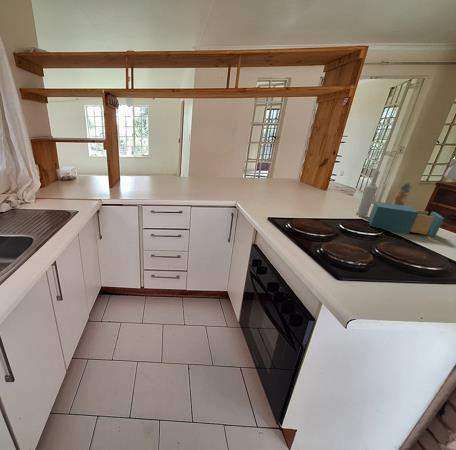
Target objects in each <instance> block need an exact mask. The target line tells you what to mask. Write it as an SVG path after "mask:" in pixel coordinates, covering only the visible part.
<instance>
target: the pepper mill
mask: <svg viewBox="0 0 456 450" xmlns="http://www.w3.org/2000/svg"><path fill="white" fill-rule="evenodd" d="M411 189H412V186H411V183H410V182H405V183H403V184H402V185H400V188H399V189H398V190H397V191H396V194H395V196H394V199H393V201H392V203H391V204H396V205H403V206H406V204H407V202H408V199H409V197H410V195H411V192H410V191H411Z"/></svg>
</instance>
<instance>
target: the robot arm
mask: <svg viewBox="0 0 456 450" xmlns="http://www.w3.org/2000/svg"><path fill="white" fill-rule="evenodd" d="M448 164H449V167H448V168H447V170H446V172H445V173H444V178H445V179H447V180H448V179H449V180H456V157H454V158H451V160H450V162H449V163H448Z"/></svg>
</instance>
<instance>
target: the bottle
mask: <svg viewBox="0 0 456 450" xmlns="http://www.w3.org/2000/svg"><path fill="white" fill-rule="evenodd" d="M380 173H381V171H380V170H375V171H374V173H373V176H372V179H371V181H370V183H369V184H367V185H365V187H364V190H363V192H362V196H361V199H360V203H359V206H358V208H357V210H356V212H355V215H356V216H358V215H359V216H358V217H362V216H367V217H368V215H369V211H370V208H371V206H372V203H373V201H374V199H375V196H376V194H377V191H378V189H379V187H378V186H377V184H376V183H377V181H378V178H379V175H380Z"/></svg>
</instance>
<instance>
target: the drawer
mask: <svg viewBox="0 0 456 450" xmlns="http://www.w3.org/2000/svg"><path fill="white" fill-rule="evenodd" d="M415 210H416V211H417V212H418V215H417V217H416V219H415V221H414V223H413V226H412V228H411V230H410V232H409V233H416V234H421V235H429V236H430V237H432V238H435V237H436V236H437V234H438V232H439V230H440V228H441V226H442V224H443V222H444V219H445V218H444V217H443V216H442V215H440V214H439V213H437V212H435V211H431V213H430V214H429V211H425V210H418V209H415Z"/></svg>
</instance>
